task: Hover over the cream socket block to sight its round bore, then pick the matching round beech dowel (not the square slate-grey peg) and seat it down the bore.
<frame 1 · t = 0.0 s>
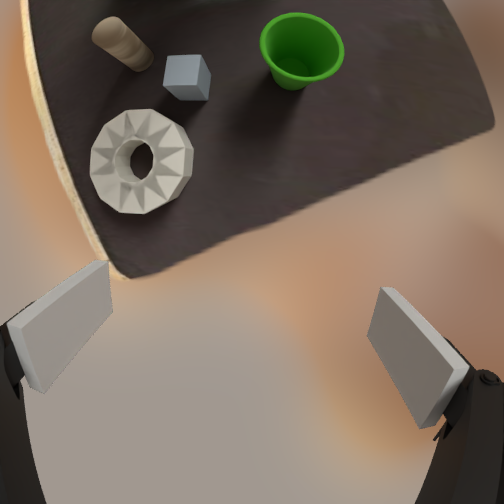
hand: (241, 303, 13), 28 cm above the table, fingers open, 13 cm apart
cup: (290, 75, 34), on the table
dowel: (141, 60, 33), on the table
square peg: (195, 87, 35), on the table
socket: (147, 161, 38), on the table
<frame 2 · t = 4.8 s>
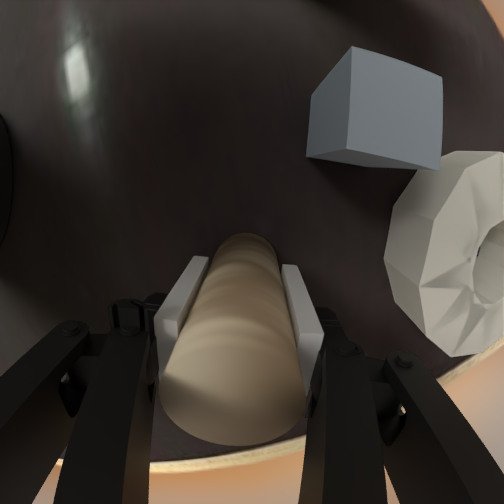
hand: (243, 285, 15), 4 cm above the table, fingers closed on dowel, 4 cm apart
dowel: (245, 263, 18), on the table, touching gripper
square peg: (340, 130, 16), on the table
socket: (458, 243, 18), on the table
when the fingers open (6 cm above the table, at t = 9.0 s): dowel drops 3 cm, resting in socket.
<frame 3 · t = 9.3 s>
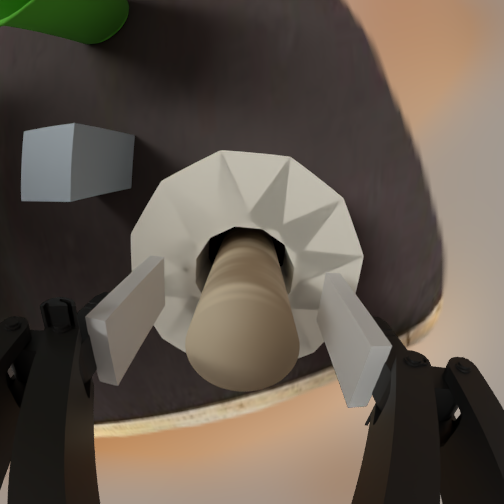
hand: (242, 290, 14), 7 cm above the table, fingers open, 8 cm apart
cup: (104, 21, 16), on the table
dowel: (247, 252, 21), resting in socket
square peg: (110, 161, 19), on the table
socket: (246, 251, 21), on the table
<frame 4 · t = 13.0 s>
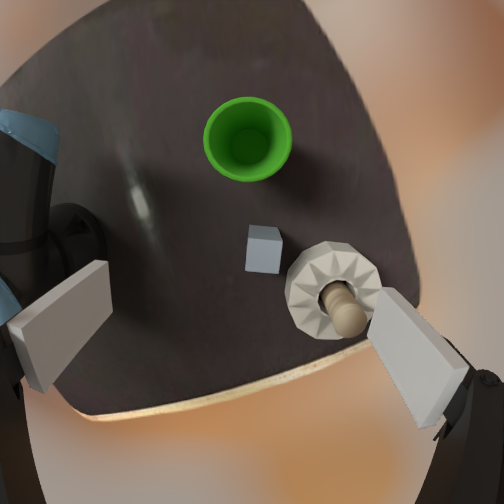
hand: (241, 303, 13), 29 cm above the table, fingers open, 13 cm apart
cup: (249, 146, 38), on the table
dowel: (329, 285, 44), resting in socket
square peg: (262, 239, 42), on the table
socket: (329, 284, 44), on the table
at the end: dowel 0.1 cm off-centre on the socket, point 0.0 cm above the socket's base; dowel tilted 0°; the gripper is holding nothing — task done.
